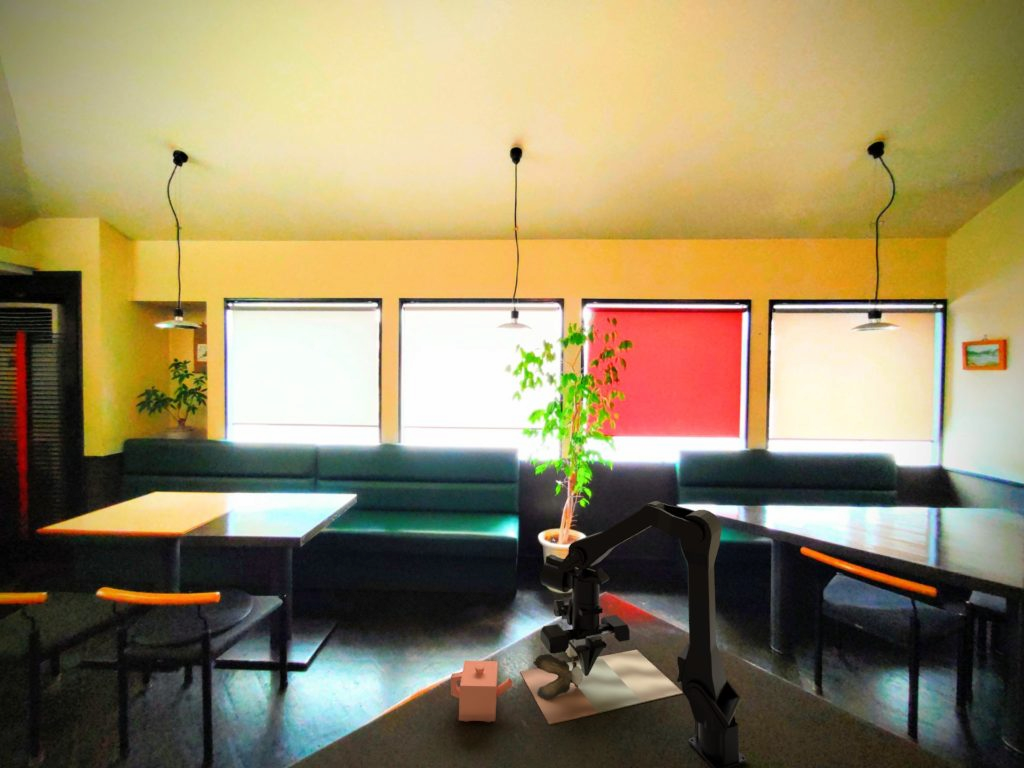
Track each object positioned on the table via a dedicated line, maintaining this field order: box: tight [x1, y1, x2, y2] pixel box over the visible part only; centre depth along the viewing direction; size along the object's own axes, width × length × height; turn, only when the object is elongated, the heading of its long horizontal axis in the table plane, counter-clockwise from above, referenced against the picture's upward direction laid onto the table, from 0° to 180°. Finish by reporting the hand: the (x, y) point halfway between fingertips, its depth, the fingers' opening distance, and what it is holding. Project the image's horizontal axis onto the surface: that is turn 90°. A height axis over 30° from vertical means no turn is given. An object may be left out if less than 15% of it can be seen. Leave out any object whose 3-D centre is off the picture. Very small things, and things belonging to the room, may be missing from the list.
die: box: [564, 645, 578, 658], centre depth 100 cm, size 4×4×4 cm
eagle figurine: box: [533, 653, 583, 700], centre depth 85 cm, size 8×7×9 cm
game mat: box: [519, 649, 684, 726], centre depth 88 cm, size 16×30×1 cm, turn 108°
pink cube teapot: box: [450, 660, 514, 723], centre depth 79 cm, size 8×12×8 cm, turn 90°
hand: (585, 674), depth 87 cm, fingers closed
